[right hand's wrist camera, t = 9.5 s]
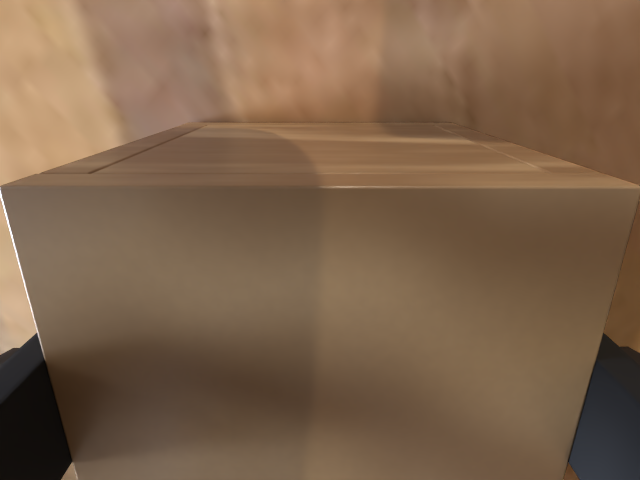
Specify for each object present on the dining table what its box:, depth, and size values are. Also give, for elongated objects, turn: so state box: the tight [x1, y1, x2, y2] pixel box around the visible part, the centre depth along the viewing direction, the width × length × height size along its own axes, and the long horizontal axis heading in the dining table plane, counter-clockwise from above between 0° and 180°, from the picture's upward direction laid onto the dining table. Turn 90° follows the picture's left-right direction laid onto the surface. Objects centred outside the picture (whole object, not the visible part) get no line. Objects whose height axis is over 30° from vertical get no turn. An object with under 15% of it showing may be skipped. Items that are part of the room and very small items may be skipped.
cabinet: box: [0, 122, 640, 480], centre depth 16 cm, size 22×11×11 cm, turn 0°
